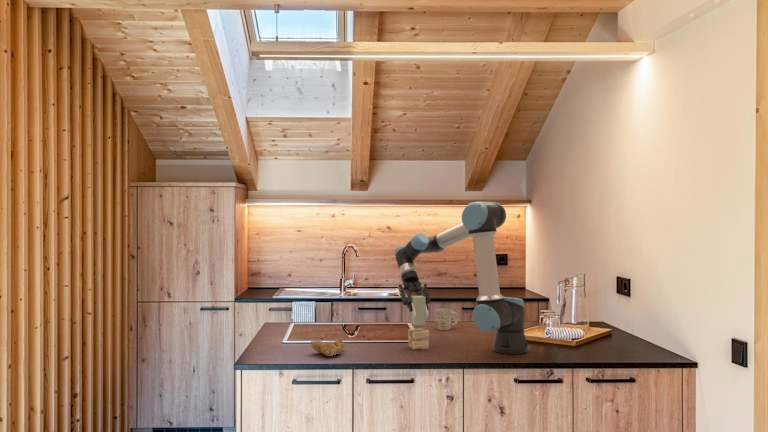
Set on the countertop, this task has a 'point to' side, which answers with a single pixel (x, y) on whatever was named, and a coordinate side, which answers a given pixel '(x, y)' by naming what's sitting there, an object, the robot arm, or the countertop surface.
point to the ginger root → (328, 347)
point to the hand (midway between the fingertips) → (421, 316)
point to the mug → (445, 318)
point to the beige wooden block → (419, 344)
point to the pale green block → (419, 310)
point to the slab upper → (418, 334)
